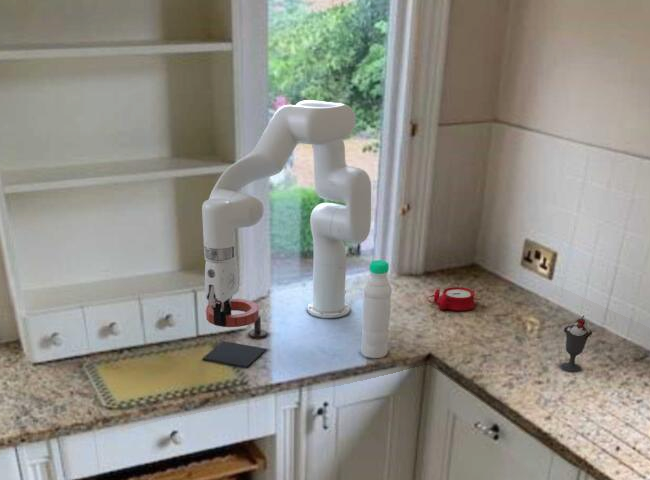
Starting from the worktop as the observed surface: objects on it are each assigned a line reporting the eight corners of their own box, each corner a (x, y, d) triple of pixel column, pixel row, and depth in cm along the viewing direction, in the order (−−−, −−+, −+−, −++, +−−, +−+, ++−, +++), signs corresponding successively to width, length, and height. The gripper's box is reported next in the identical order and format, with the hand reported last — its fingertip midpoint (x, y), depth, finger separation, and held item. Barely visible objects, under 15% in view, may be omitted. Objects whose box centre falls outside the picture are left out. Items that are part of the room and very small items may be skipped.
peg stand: (253, 330, 227) (253, 312, 225) (269, 333, 226) (269, 314, 223) (245, 336, 224) (245, 318, 221) (262, 339, 222) (261, 321, 219)
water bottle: (386, 360, 209) (392, 267, 196) (359, 358, 211) (363, 266, 198) (388, 349, 215) (394, 258, 202) (362, 347, 216) (366, 257, 203)
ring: (221, 305, 215) (221, 295, 214) (266, 312, 210) (266, 302, 209) (197, 322, 205) (197, 313, 203) (244, 330, 200) (244, 320, 199)
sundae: (571, 375, 200) (582, 319, 192) (551, 365, 205) (561, 310, 198) (590, 370, 203) (602, 314, 195) (570, 360, 208) (581, 305, 200)
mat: (223, 342, 220) (223, 341, 220) (266, 350, 216) (266, 348, 215) (202, 359, 211) (202, 358, 211) (247, 368, 206) (247, 366, 206)
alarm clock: (484, 299, 236) (436, 290, 233) (477, 318, 239) (430, 310, 236) (474, 286, 245) (428, 278, 242) (467, 305, 248) (422, 297, 245)
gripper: (218, 263, 186) (221, 337, 195) (247, 244, 198) (249, 314, 208) (190, 259, 188) (194, 332, 198) (221, 241, 201) (224, 310, 210)
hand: (222, 322), depth 203 cm, fingers closed on ring, 2 cm apart
